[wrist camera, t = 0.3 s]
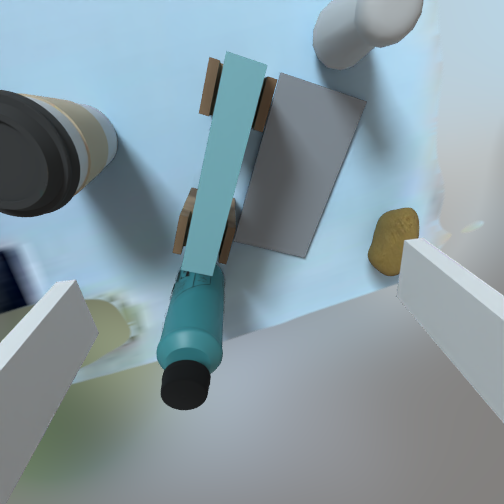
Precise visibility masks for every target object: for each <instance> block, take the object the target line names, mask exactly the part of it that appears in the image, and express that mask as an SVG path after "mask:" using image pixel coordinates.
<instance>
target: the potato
mask: <svg viewBox="0 0 504 504" xmlns="http://www.w3.org/2000/svg"><path fill="white" fill-rule="evenodd" d="M418 237H419V219H418V216H417V213H416V212H415V210H413V209H412V208H401V209H397V210H391V211H388V212H386V213H384V214H383V215H382V216H381V217H380V218H379V220H378V222H377V225H376V229H375V232H374V235H373V241H372V244H371V246H370V248H369V251H368V259H369V261H370V263H371V264H372V265H373V266H374V267H375V268H376V269H377V270H378V271H379V272H381V273H382V274H384V275H386V276H395V275H398V274H400V268H401V261H402V254H403V247H404V240H410V239H418Z"/></svg>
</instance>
